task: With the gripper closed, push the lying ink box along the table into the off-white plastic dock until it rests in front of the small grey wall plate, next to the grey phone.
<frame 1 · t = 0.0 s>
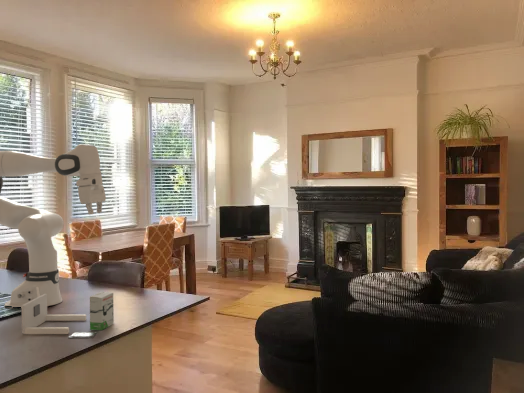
hand: (95, 213, 197), 39 cm above the counter, tool pointing down, fingers open, 8 cm apart
ink box: (102, 327, 167), on the counter
dock: (58, 326, 167), on the counter
phone: (82, 337, 157), on the counter
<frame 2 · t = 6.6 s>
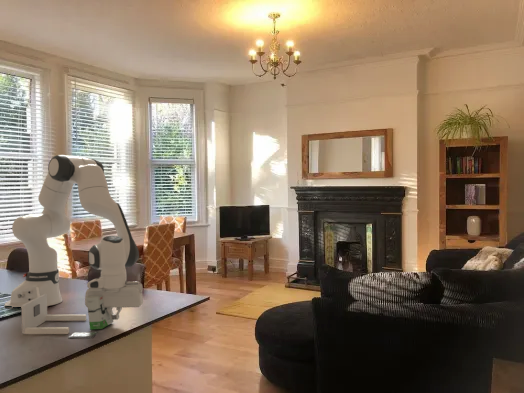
hand: (114, 319, 167), 3 cm above the counter, tool pointing down, fingers closed
ink box: (102, 326, 167), on the counter, touching gripper
everything else where it was.
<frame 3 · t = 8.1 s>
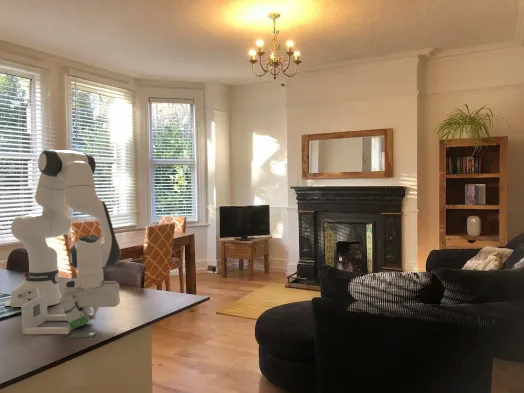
hand: (91, 318, 167), 3 cm above the counter, tool pointing down, fingers closed
ink box: (83, 324, 167), point 1 cm above the counter, touching gripper
everything else where it was.
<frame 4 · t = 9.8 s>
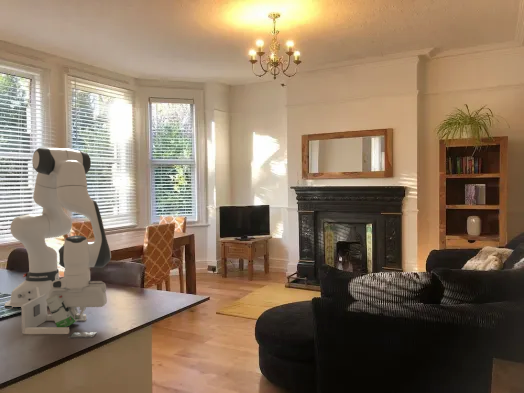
hand: (78, 318, 167), 3 cm above the counter, tool pointing down, fingers closed
ink box: (70, 324, 167), point 1 cm above the counter, touching gripper
everything else where it was.
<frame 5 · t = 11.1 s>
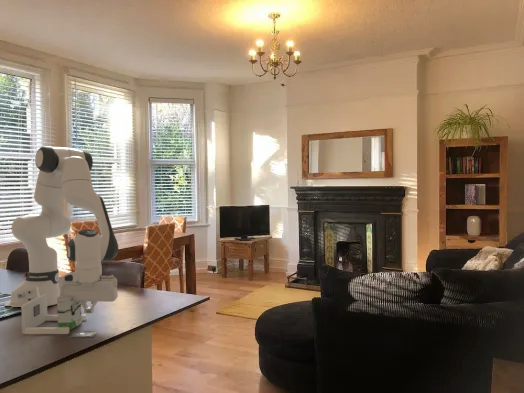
hand: (89, 312, 167), 5 cm above the counter, tool pointing down, fingers closed
ink box: (70, 327, 167), on the counter
everything else where it was.
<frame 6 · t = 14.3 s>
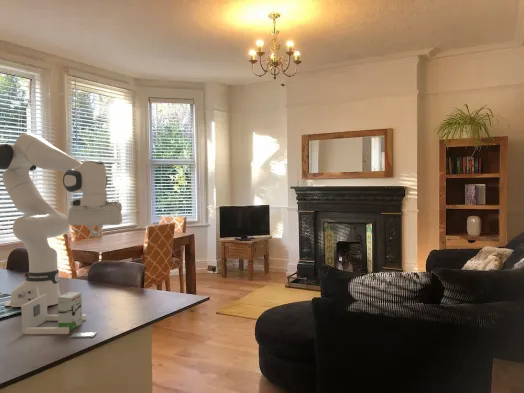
hand: (95, 236, 180), 31 cm above the counter, tool pointing down, fingers closed
nothing on the counter moved.
at the end: ink box inside the target area on the dock (4.5 cm from its centre), point 0.0 cm above the dock's base; ink box moved 11.5 cm from its start; ink box touching counter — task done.
